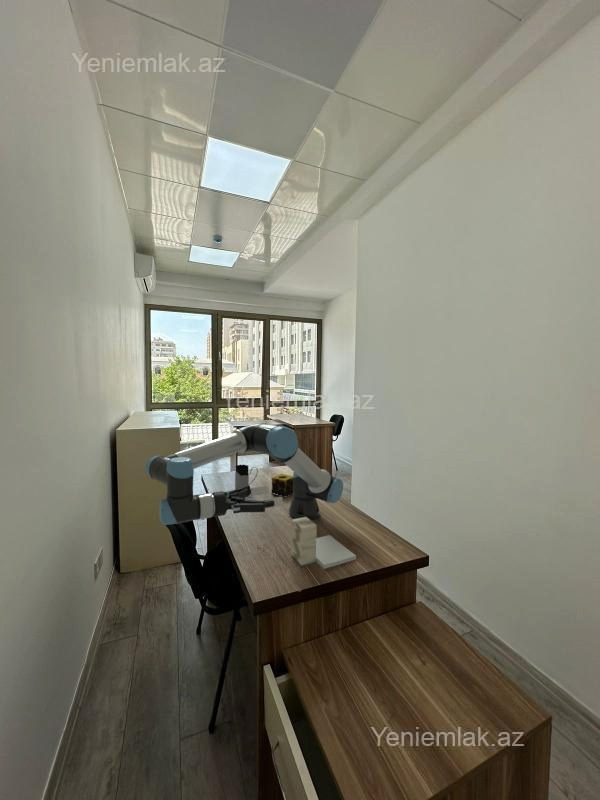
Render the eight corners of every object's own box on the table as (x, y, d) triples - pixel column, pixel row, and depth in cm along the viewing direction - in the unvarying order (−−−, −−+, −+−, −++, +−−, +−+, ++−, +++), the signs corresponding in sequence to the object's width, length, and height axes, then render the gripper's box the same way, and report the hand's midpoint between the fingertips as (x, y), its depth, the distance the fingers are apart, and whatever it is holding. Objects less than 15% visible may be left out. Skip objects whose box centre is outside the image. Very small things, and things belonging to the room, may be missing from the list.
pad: (300, 545, 131) (300, 542, 131) (329, 538, 138) (329, 535, 138) (324, 569, 115) (324, 564, 115) (355, 559, 122) (355, 555, 122)
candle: (295, 492, 193) (295, 476, 193) (285, 497, 185) (285, 480, 184) (281, 489, 199) (281, 473, 198) (271, 494, 190) (271, 477, 189)
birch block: (291, 555, 124) (292, 519, 123) (305, 551, 127) (306, 516, 126) (301, 566, 117) (302, 528, 116) (315, 562, 120) (316, 525, 119)
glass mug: (232, 489, 196) (232, 465, 195) (254, 486, 203) (254, 462, 202) (237, 494, 188) (237, 468, 187) (260, 490, 195) (260, 466, 194)
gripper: (204, 503, 115) (261, 494, 125) (221, 531, 94) (289, 518, 104) (204, 482, 115) (262, 475, 125) (222, 506, 93) (290, 495, 104)
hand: (274, 495), depth 114 cm, fingers open, 12 cm apart
